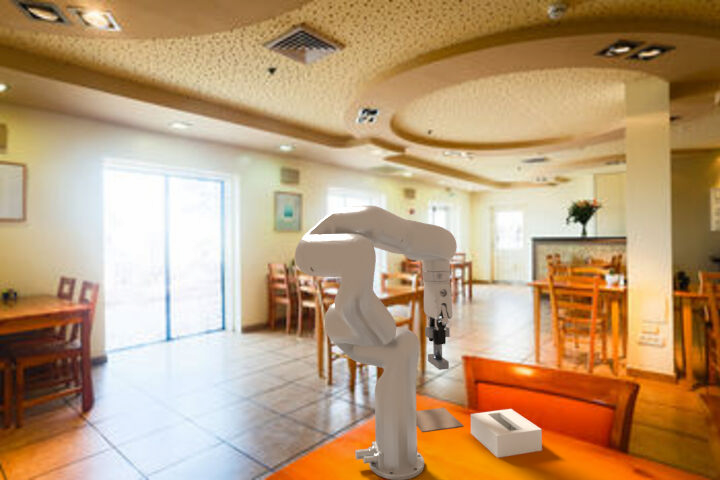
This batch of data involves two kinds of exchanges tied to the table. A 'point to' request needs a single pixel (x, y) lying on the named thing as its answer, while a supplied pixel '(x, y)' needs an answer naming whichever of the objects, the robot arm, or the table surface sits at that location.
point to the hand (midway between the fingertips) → (437, 341)
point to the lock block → (506, 432)
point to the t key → (437, 350)
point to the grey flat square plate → (436, 420)
